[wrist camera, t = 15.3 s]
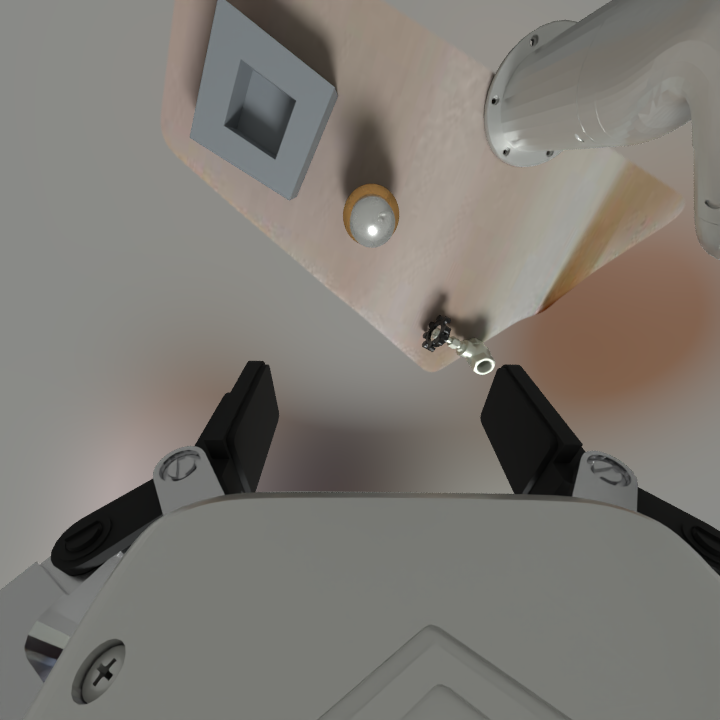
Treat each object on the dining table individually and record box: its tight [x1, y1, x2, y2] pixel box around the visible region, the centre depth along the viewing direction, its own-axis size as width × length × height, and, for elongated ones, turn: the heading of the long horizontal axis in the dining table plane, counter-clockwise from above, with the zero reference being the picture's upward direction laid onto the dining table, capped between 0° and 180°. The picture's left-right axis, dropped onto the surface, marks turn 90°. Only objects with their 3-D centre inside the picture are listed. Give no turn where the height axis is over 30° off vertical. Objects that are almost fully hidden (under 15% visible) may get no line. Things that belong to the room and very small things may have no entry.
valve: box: [422, 315, 495, 375], centre depth 50 cm, size 7×7×12 cm
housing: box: [190, 0, 338, 200], centre depth 33 cm, size 12×12×5 cm
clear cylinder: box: [343, 184, 399, 248], centre depth 37 cm, size 7×7×10 cm
